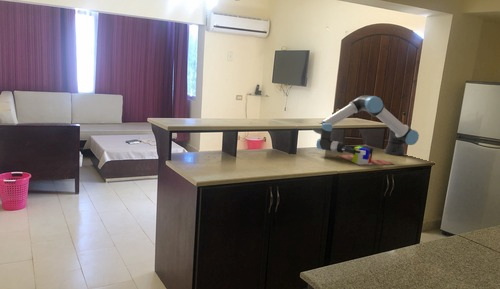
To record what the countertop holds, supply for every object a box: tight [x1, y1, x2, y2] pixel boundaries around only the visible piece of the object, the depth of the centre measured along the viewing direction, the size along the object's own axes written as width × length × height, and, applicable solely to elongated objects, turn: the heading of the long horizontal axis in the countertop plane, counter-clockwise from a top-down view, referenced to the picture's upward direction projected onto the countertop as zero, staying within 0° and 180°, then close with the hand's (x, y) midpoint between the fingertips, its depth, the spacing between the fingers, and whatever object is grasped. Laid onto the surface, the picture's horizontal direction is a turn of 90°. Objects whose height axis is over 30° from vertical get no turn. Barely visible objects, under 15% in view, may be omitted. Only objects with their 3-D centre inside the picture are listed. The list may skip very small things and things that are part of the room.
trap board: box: [336, 154, 395, 166], centre depth 281 cm, size 29×29×1 cm
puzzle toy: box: [351, 145, 374, 164], centre depth 271 cm, size 10×10×10 cm
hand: (368, 151), depth 269 cm, fingers open, 13 cm apart
